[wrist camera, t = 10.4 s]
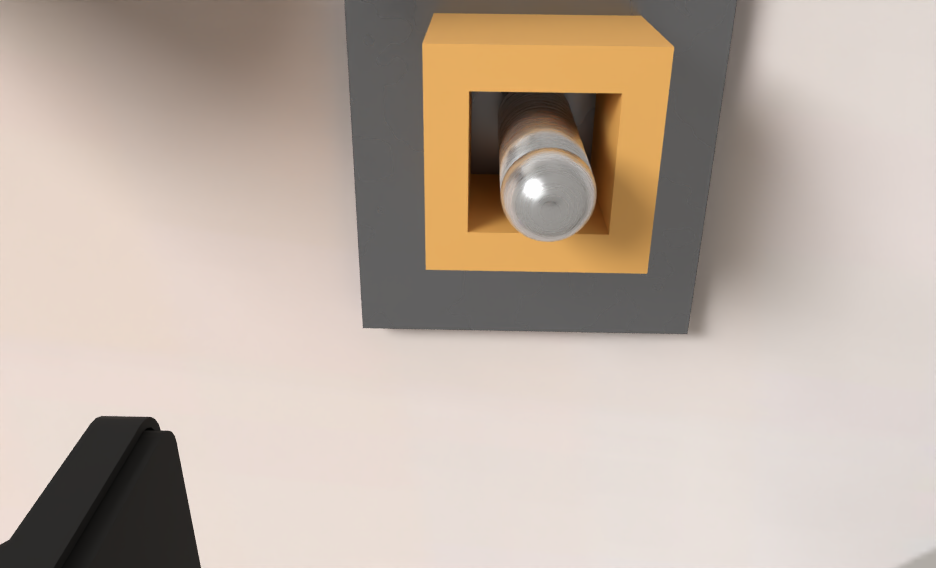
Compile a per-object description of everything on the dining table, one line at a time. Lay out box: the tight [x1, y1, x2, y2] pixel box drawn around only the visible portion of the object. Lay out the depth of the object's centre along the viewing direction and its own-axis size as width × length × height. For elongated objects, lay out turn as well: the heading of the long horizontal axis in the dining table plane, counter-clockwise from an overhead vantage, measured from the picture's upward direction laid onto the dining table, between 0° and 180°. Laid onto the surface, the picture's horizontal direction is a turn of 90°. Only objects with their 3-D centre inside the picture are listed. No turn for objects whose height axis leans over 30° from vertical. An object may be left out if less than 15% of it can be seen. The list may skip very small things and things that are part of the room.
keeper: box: [345, 0, 737, 334], centre depth 24 cm, size 16×12×9 cm
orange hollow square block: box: [422, 13, 674, 274], centre depth 25 cm, size 6×6×5 cm
